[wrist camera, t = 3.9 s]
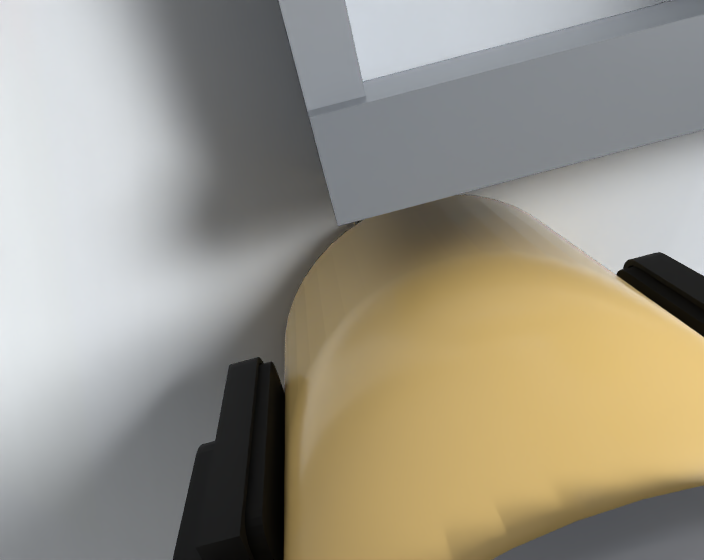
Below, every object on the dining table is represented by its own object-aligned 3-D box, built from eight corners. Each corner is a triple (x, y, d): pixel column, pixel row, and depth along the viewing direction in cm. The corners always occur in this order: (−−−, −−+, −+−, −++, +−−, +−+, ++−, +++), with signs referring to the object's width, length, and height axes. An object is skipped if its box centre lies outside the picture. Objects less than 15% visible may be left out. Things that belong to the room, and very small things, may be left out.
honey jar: (233, 244, 10) (87, 807, 3) (579, 147, 10) (1396, 444, 3) (328, 497, 13) (385, 1114, 5) (599, 421, 13) (1021, 935, 5)
